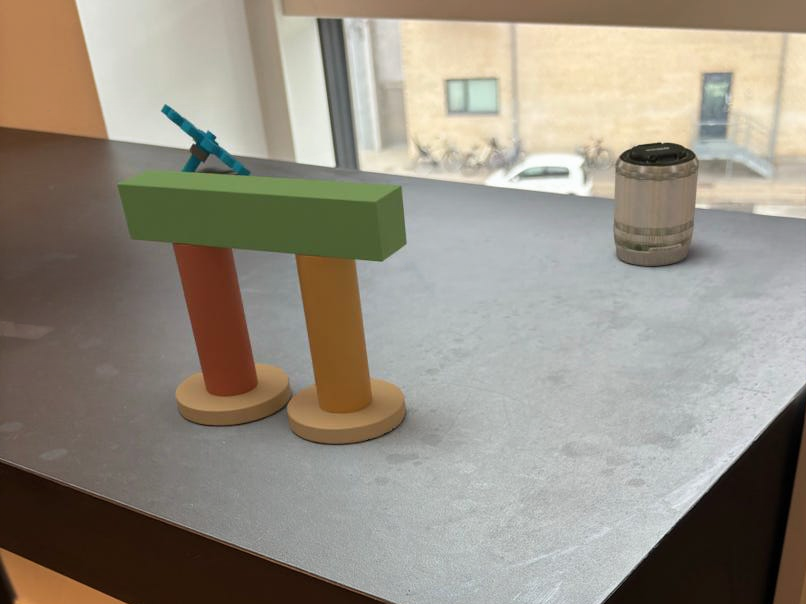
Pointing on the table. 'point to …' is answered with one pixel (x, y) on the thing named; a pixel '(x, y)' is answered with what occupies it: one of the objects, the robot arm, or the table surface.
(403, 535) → the table surface
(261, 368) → the terracotta rod
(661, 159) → the camera lens
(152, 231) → the green bar
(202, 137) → the teal blocky crossed piece
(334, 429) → the ochre rod
